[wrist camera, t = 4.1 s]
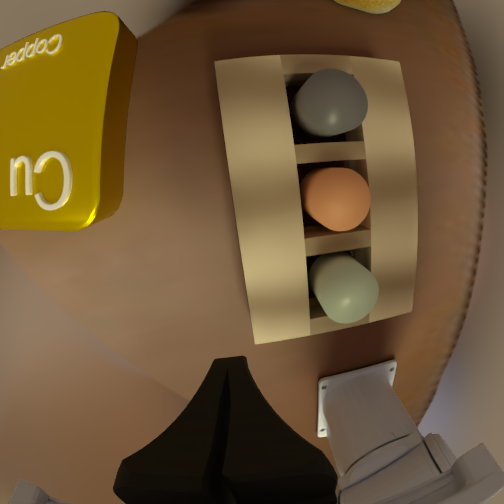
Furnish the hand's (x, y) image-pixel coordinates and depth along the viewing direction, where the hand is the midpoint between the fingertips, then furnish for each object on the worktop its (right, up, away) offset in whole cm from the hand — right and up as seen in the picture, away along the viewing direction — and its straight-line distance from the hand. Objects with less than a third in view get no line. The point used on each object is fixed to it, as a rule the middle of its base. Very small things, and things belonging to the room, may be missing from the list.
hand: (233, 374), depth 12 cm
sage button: (+6, +4, +8) cm, 11 cm away
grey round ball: (+5, +14, +4) cm, 16 cm away
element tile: (-15, +15, +5) cm, 22 cm away
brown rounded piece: (+6, +9, +7) cm, 13 cm away
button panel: (+6, +9, +7) cm, 13 cm away
